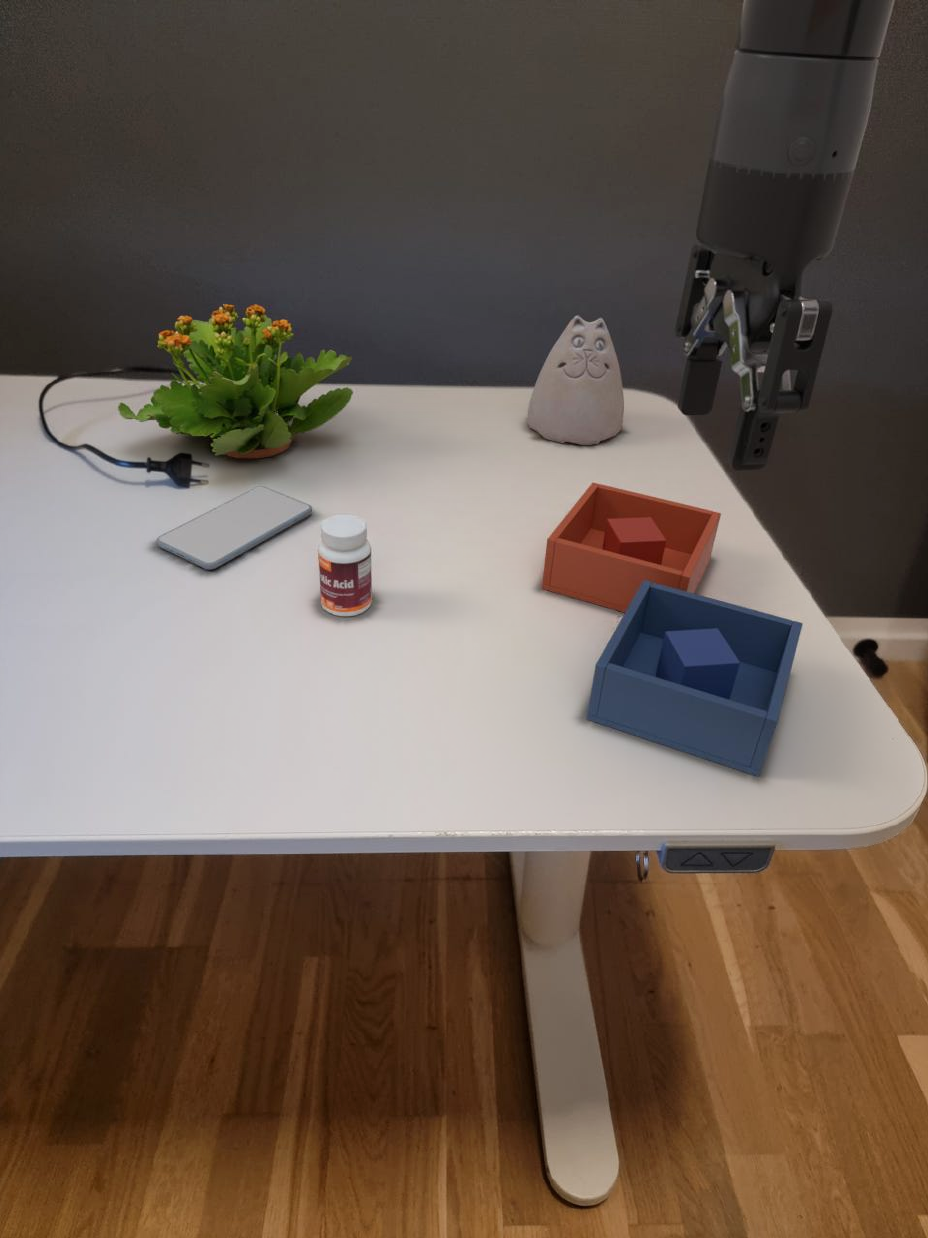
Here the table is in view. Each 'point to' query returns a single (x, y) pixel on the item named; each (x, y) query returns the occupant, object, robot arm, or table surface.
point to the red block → (635, 539)
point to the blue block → (698, 661)
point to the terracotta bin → (616, 577)
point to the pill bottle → (345, 565)
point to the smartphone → (234, 527)
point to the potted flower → (241, 385)
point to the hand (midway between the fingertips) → (717, 438)
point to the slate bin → (687, 714)
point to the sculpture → (579, 387)
